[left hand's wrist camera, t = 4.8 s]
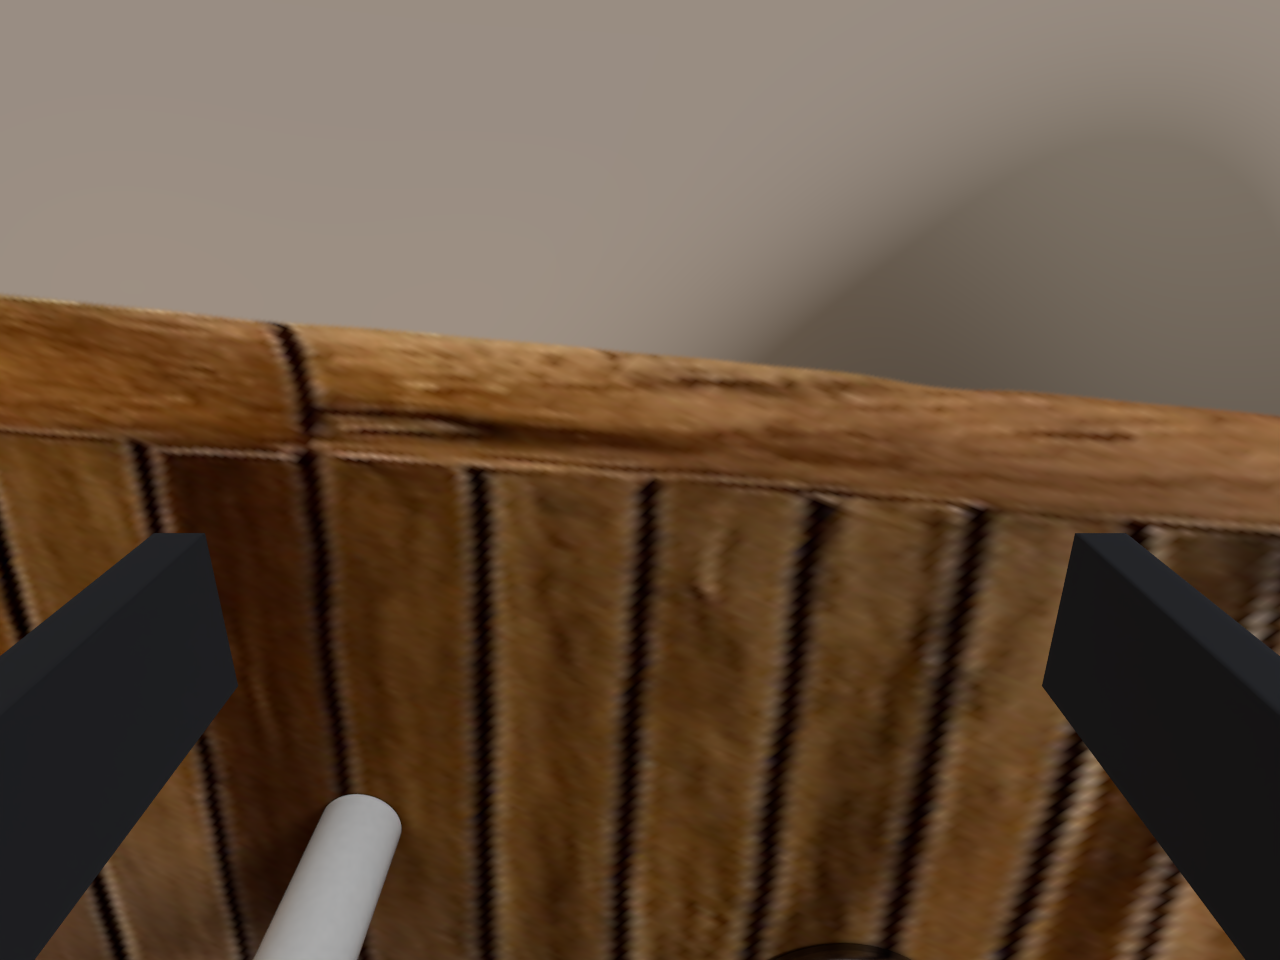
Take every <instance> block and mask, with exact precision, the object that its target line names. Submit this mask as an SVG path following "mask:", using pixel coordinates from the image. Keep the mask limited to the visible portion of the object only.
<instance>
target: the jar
mask: <svg viewBox="0 0 1280 960" xmlns="http://www.w3.org/2000/svg"><path fill="white" fill-rule="evenodd" d="M400 836H401V822H400V819H399V817H398V815H397V814H396V812H395V811H394V810H393V809H392V808H391V807H390V806H389V805H388V804H386V803H385V802H383V801H382V800H380V799H377V798H375V797H372V796H368V795H362V794H351V795H345V796H342V797H339V798H337V799H335V800H334V801H332V802H331V803H330V804H329V805H328V806H327V807H326V808H325V810H324V811H323V813H322V815H321V817H320V820H319V822H318V824H317V826H316V828H315V830H314V832H313V834H312V836H311V839H310V841H309V843H308V845H307V847H306V849H305V851H304V853H303V855H302V857H301V860H300V862H299V864H298V866H297V868H296V870H295V872H294V874H293V876H292V879H291V881H290V883H289V885H288V887H287V889H286V891H285V893H284V895H283V897H282V900H281V902H280V904H279V906H278V908H277V910H276V912H275V914H274V916H273V919H272V921H271V923H270V925H269V927H268V929H267V931H266V933H265V935H264V937H263V940H262V942H261V944H260V946H259V948H258V950H257V952H256V954H255V956H254V959H253V960H358V957H359V954H360V951H361V948H362V945H363V942H364V940H365V937H366V934H367V931H368V928H369V925H370V922H371V919H372V917H373V914H374V911H375V908H376V905H377V902H378V899H379V896H380V893H381V891H382V888H383V885H384V882H385V879H386V876H387V873H388V870H389V867H390V865H391V862H392V859H393V856H394V853H395V850H396V847H397V844H398V842H399V839H400Z"/></svg>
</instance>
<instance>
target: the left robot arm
mask: <svg viewBox="0 0 1280 960" xmlns="http://www.w3.org/2000/svg"><path fill="white" fill-rule="evenodd" d="M237 687H238V684H237V679H236V675H235V670H234V666H233V661H232V656H231V652H230V647H229V642H228V638H227V633H226V629H225V624H224V619H223V615H222V610H221V606H220V601H219V596H218V592H217V587H216V582H215V578H214V573H213V569H212V564H211V559H210V555H209V550H208V546H207V541H206V536H205V533H154V534H153V535H151V536H150V537H149V538H148V539H146V540H145V541H144V542H143V543H141V544H140V545H139V546H138V547H136V548H135V549H134V550H133V551H131V552H130V553H129V554H128V555H126V556H125V557H124V558H123V559H121V560H120V561H119V562H118V563H116V564H115V565H114V566H113V567H111V568H110V569H109V570H108V571H106V572H105V573H104V574H103V575H101V576H100V577H99V578H98V579H96V580H95V581H94V582H93V583H91V584H90V585H89V586H88V587H86V588H85V589H84V590H83V591H81V592H80V593H79V594H78V595H76V596H75V597H74V598H73V599H71V600H70V601H69V602H68V603H66V604H65V605H64V606H63V607H61V608H60V609H59V610H58V611H56V612H55V613H54V614H53V615H51V616H50V617H49V618H48V619H46V620H45V621H44V622H43V623H41V624H40V625H39V626H37V627H36V628H35V629H34V630H32V631H31V632H30V633H29V634H27V635H26V636H25V637H24V638H22V639H21V640H20V641H19V642H17V643H16V644H15V645H14V646H12V647H11V648H10V649H9V650H7V651H6V652H5V653H4V654H2V655H1V656H0V960H35V958H36V957H37V956H38V954H39V953H40V952H41V950H42V949H43V948H44V946H45V945H46V944H47V942H48V941H49V939H50V938H51V937H52V935H53V934H54V933H55V931H56V930H57V929H58V927H59V926H60V925H61V923H62V922H63V921H64V919H65V918H66V917H67V915H68V914H69V913H70V911H71V910H72V909H73V907H74V906H75V904H76V903H77V902H78V900H79V899H80V898H81V896H82V895H83V894H84V892H85V891H86V890H87V888H88V887H89V886H90V884H91V883H92V882H93V880H94V879H95V878H96V876H97V875H98V874H99V872H100V871H101V870H102V868H103V867H104V865H105V864H106V863H107V861H108V860H109V859H110V857H111V856H112V855H113V853H114V852H115V851H116V849H117V848H118V847H119V845H120V844H121V843H122V841H123V840H124V839H125V837H126V836H127V835H128V833H129V832H130V830H131V829H132V828H133V826H134V825H135V824H136V822H137V821H138V820H139V818H140V817H141V816H142V814H143V813H144V812H145V810H146V809H147V808H148V806H149V805H150V804H151V802H152V801H153V800H154V798H155V797H156V796H157V794H158V793H159V791H160V790H161V789H162V787H163V786H164V785H165V783H166V782H167V781H168V779H169V778H170V777H171V775H172V774H173V773H174V771H175V770H176V769H177V767H178V766H179V765H180V763H181V762H182V761H183V759H184V758H185V756H186V755H187V754H188V752H189V751H190V750H191V748H192V747H193V746H194V744H195V743H196V742H197V740H198V739H199V738H200V736H201V735H202V734H203V732H204V731H205V730H206V728H207V727H208V726H209V724H210V723H211V721H212V720H213V719H214V717H215V716H216V715H217V713H218V712H219V711H220V709H221V708H222V707H223V705H224V704H225V703H226V701H227V700H228V699H229V697H230V696H231V695H232V693H233V692H234V691H235V689H236V688H237ZM1042 687H1043V688H1044V689H1045V691H1046V692H1047V693H1048V695H1049V696H1050V697H1051V699H1052V700H1053V701H1054V703H1055V704H1056V705H1057V707H1058V708H1059V709H1060V711H1061V712H1062V713H1063V715H1064V716H1065V717H1066V719H1067V720H1068V721H1069V723H1070V724H1071V726H1072V727H1073V728H1074V730H1075V731H1076V732H1077V734H1078V735H1079V736H1080V738H1081V739H1082V740H1083V742H1084V743H1085V744H1086V746H1087V747H1088V748H1089V750H1090V751H1091V752H1092V754H1093V755H1094V756H1095V758H1096V759H1097V761H1098V762H1099V763H1100V765H1101V766H1102V767H1103V769H1104V770H1105V771H1106V773H1107V774H1108V775H1109V777H1110V778H1111V779H1112V781H1113V782H1114V783H1115V785H1116V786H1117V787H1118V789H1119V790H1120V791H1121V793H1122V794H1123V796H1124V797H1125V798H1126V800H1127V801H1128V802H1129V804H1130V805H1131V806H1132V808H1133V809H1134V810H1135V812H1136V813H1137V814H1138V816H1139V817H1140V818H1141V820H1142V821H1143V822H1144V824H1145V825H1146V826H1147V828H1148V829H1149V830H1150V832H1151V833H1152V835H1153V836H1154V837H1155V839H1156V840H1157V841H1158V843H1159V844H1160V845H1161V847H1162V848H1163V849H1164V851H1165V852H1166V853H1167V855H1168V856H1169V857H1170V859H1171V860H1172V861H1173V863H1174V864H1175V865H1176V867H1177V868H1178V870H1179V871H1180V872H1181V874H1182V875H1183V876H1184V878H1185V879H1186V880H1187V882H1188V883H1189V884H1190V886H1191V887H1192V888H1193V890H1194V891H1195V892H1196V894H1197V895H1198V896H1199V898H1200V899H1201V900H1202V902H1203V903H1204V904H1205V906H1206V907H1207V909H1208V910H1209V911H1210V913H1211V914H1212V915H1213V917H1214V918H1215V919H1216V921H1217V922H1218V923H1219V925H1220V926H1221V927H1222V929H1223V930H1224V931H1225V933H1226V934H1227V935H1228V937H1229V938H1230V939H1231V941H1232V942H1233V944H1234V945H1235V946H1236V948H1237V949H1238V950H1239V952H1240V953H1241V954H1242V956H1243V957H1244V958H1245V960H1280V656H1279V655H1278V654H1276V653H1275V652H1274V651H1273V650H1271V649H1270V648H1269V647H1268V646H1266V645H1265V644H1264V643H1263V642H1261V641H1260V640H1259V639H1258V638H1256V637H1255V636H1254V635H1253V634H1251V633H1250V632H1249V631H1248V630H1246V629H1245V628H1244V627H1243V626H1241V625H1240V624H1239V623H1237V622H1236V621H1235V620H1234V619H1232V618H1231V617H1230V616H1229V615H1227V614H1226V613H1225V612H1224V611H1222V610H1221V609H1220V608H1219V607H1217V606H1216V605H1215V604H1214V603H1212V602H1211V601H1210V600H1209V599H1207V598H1206V597H1205V596H1204V595H1202V594H1201V593H1200V592H1199V591H1197V590H1196V589H1195V588H1194V587H1192V586H1191V585H1190V584H1189V583H1187V582H1186V581H1185V580H1184V579H1182V578H1181V577H1180V576H1179V575H1177V574H1176V573H1175V572H1174V571H1172V570H1171V569H1170V568H1169V567H1167V566H1166V565H1165V564H1164V563H1162V562H1161V561H1160V560H1159V559H1157V558H1156V557H1155V556H1154V555H1152V554H1151V553H1150V552H1149V551H1147V550H1146V549H1145V548H1144V547H1142V546H1141V545H1140V544H1139V543H1137V542H1136V541H1135V540H1134V539H1132V538H1131V537H1130V536H1129V535H1127V534H1126V533H1075V536H1074V541H1073V546H1072V550H1071V555H1070V559H1069V564H1068V569H1067V573H1066V578H1065V582H1064V587H1063V592H1062V596H1061V601H1060V606H1059V610H1058V615H1057V619H1056V624H1055V629H1054V633H1053V638H1052V642H1051V647H1050V652H1049V656H1048V661H1047V666H1046V670H1045V675H1044V679H1043V684H1042ZM775 960H910V959H909V958H907V957H904V956H902V955H900V954H898V953H895V952H892V951H889V950H886V949H882V948H879V947H873V946H868V945H859V944H830V945H821V946H816V947H810V948H806V949H802V950H798V951H795V952H792V953H789V954H787V955H784V956H782V957H779V958H777V959H775Z"/></svg>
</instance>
